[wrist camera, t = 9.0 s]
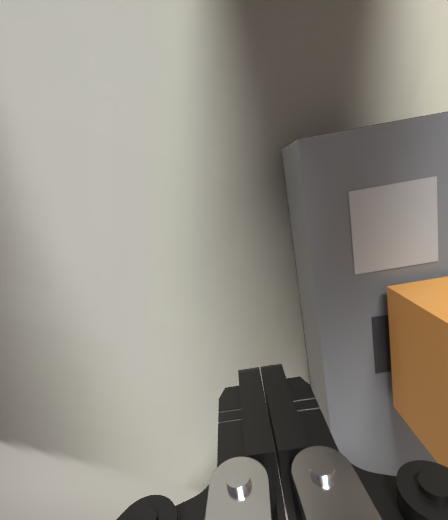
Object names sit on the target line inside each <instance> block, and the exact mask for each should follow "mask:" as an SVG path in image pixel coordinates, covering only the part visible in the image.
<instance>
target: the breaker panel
mask: <svg viewBox="0 0 448 520" xmlns="http://www.w3.org/2000/svg"><path fill="white" fill-rule="evenodd" d="M282 158H283V166H284V174H285V182H286V190H287V198H288V206H289V214H290V222H291V230H292V238H293V246H294V254H295V262H296V270H297V279H298V287H299V295H300V303H301V311H302V319H303V327H304V335H305V343H306V351H307V359H308V367H309V375H310V383H311V388H312V391H313V393H314V395H315V398H316V400H317V402H318V404H319V407H320V409H321V411H322V414H323V416H324V418H325V421H326V423H327V425H328V427H329V430H330V432H331V434H332V437H333V439H334V441H335V443H336V446H337V448H338V450H339V452H340V453H342V454H343V455H344V456H345V457H346V458H347V459H348V460H349V462H350V463H352V464H353V465H355V466H356V467H358V468H361V469H363V470H366V471H369V472H373V473H379V474H385V475H391V476H397V472H398V470H399V468H400V467H401V466H402V465H404V464H405V463H407V462H410V461H415V460H426V461H431V462H435V463H437V462H436V460H435V459H434V458H433V456H432V455H431V454H430V453H429V451H428V450H427V449H426V447H425V446H424V445H423V444H422V442H421V441H420V440H419V438H418V437H417V436H416V435H415V433H414V432H413V431H412V429H411V428H410V427H409V426H408V424H407V423H406V422H405V420H404V419H403V418H402V417H401V415H400V414H399V413H398V411H397V410H396V409H395V408H394V406H393V389H392V371H391V354H390V336H389V319H388V301H387V286H392V285H398V284H404V283H410V282H416V281H423V280H429V279H435V278H441V277H447V276H448V112H442V113H437V114H431V115H426V116H420V117H415V118H409V119H404V120H398V121H393V122H388V123H382V124H377V125H371V126H366V127H360V128H355V129H349V130H344V131H338V132H333V133H327V134H322V135H316V136H311V137H305V138H300V139H297V140H295V141H294V142H292V143H291V144H289V145H288V146H286V147H285V148H283V149H282Z"/></svg>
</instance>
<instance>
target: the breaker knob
mask: <svg viewBox="0 0 448 520" xmlns="http://www.w3.org/2000/svg"><path fill="white" fill-rule="evenodd" d="M387 301H388V319H389V336H390V354H391V371H392V389H393V406H394V408H395V409H396V410H397V411H398V413H399V414H400V415H401V417H402V418H403V419H404V420H405V422H406V423H407V424H408V426H409V427H410V428H411V429H412V431H413V432H414V433H415V435H416V436H417V437H418V438H419V440H420V441H421V442H422V444H423V445H424V446H425V447H426V449H427V450H428V451H429V453H430V454H431V455H432V456H433V458H434V459H435V460H436V462H437V463H438V464H441V465H443V466H445V467H448V276H447V277H441V278H435V279H429V280H423V281H416V282H410V283H404V284H398V285H392V286H387Z"/></svg>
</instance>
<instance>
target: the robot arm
mask: <svg viewBox="0 0 448 520" xmlns="http://www.w3.org/2000/svg"><path fill="white" fill-rule="evenodd" d="M238 373H239V386H234V387H228V388H225V389H224V391H223V393H222V395H221V396H220V398H219V420H218V421H219V424H218V461H217V469H216V470H215V471H214V473H213V474H212V477H211V479H210V484H209V485H208V487H207V488H206V489H205V490H204V491H202V492H201V493H200V494H198V495H197V496H195V497H194V498H191V499H189V500H187V501H185V502H183V503H181V504H179V505H177V506H175V505H174V504H173V502H172V501H171V500H170V499H169V498H167V497H165V496H161V495H150V496H146V497H144V498H141V499H139V500H138V501H136V502H135V503H133V504H132V505H131V506H129V507H128V508H127V509H126V510H125V511H124V512H123V513H122V514H121V515H120V517H119V518H118V519H117V520H286V517H285V510H284V504H283V498H282V491H281V485H280V479H281V484H282V489H283V494H284V500H285V505H286V510H287V515H288V520H448V467H445V466H443V465H441V464H438V463H435V462H431V461H426V460H415V461H410V462H407V463H405V464H404V465H402V466H401V467H400V468H399V470H398V472H397V476H391V475H385V474H379V473H373V472H369V471H366V470H363V469H361V468H358V467H356V466H355V465H353V464H352V463H350V462H349V460H348V459H347V458H346V457H345V456H344V455H343V454H342V453H340V452H339V450H338V448H337V446H336V443H335V441H334V439H333V437H332V434H331V432H330V430H329V427H328V425H327V423H326V421H325V418H324V416H323V414H322V411H321V409H320V407H319V404H318V402H317V400H316V398H315V395H314V393H313V391H312V388H311V386H310V385H309V384H308V383H307V382H306V381H304V380H303V379H302V378H301V377H294V378H287V379H286V376H285V373H284V370H283V367H282V365H281V364H276V365H270V366H263V367H261V373H262V380H263V386H264V391H263V386H262V381H261V376H260V371H259V367H257V368H250V369H244V370H238ZM264 392H265V396H264ZM265 399H266V402H265ZM266 405H267V407H266ZM267 411H268V412H267ZM276 458H277V460H276ZM277 464H278V466H277ZM278 469H279V472H278ZM279 474H280V479H279Z"/></svg>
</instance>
